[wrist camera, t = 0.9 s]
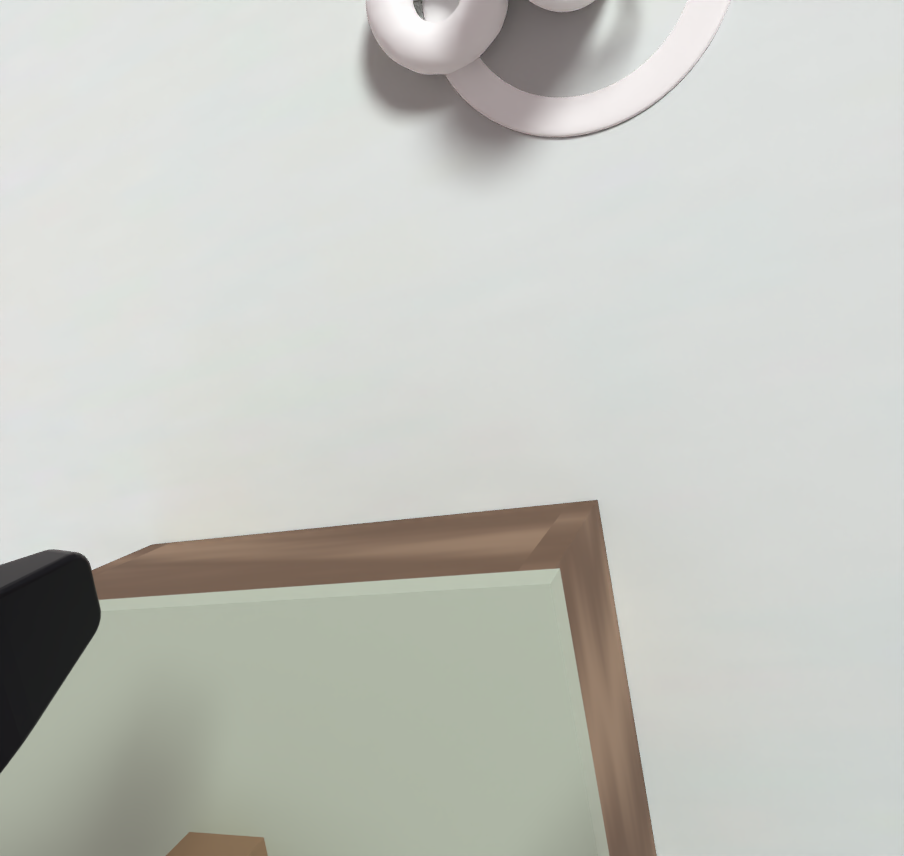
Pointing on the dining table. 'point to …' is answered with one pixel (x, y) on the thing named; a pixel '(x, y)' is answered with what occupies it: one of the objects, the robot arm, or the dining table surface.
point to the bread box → (434, 555)
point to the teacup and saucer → (457, 56)
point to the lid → (317, 727)
